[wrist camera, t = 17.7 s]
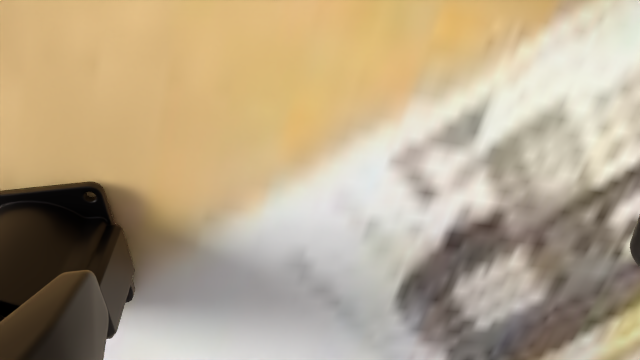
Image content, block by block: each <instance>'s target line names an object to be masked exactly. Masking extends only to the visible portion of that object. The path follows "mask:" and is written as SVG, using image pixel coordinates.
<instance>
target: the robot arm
mask: <svg viewBox="0 0 640 360" xmlns="http://www.w3.org/2000/svg"><path fill="white" fill-rule="evenodd" d="M86 192H93V193H94V194H95V195H96V197H90V196H89V195H87V193H86ZM630 250H631V254H632V257H633V258H634V260H635V262H636V263H637V265H638V266H639V268H640V216H639V218H638V221H637V224H636V227H635V230H634V233H633V236H632V239H631V242H630ZM134 272H135V269H134V265H133V262H132V259H131V255H130V252H129V249H128V246H127V242H126V239H125V236H124V232H123V229H122V228H121V227H120V226H119V225H117V224H115V223H114V219H113V216H112V213H111V210H110V206H109V203H108V200H107V197H106V194H105V191H104V189H103V187H102V186H101V185H100V184H98V183H95V182H82V183H73V184H63V185H53V186H43V187H33V188H24V189H14V190H4V191H0V360H103V358H104V351H105V344H106V339H110V338H112V337H113V336H114V335H115V333H116V332H117V329H118V325H119V322H120V319H121V315H122V312H123V309H124V305H125V303H126V302H129V301H131V300H132V298H133V296H134V293H135V287H134V284H133V281H132V278H133V275H134Z"/></svg>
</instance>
